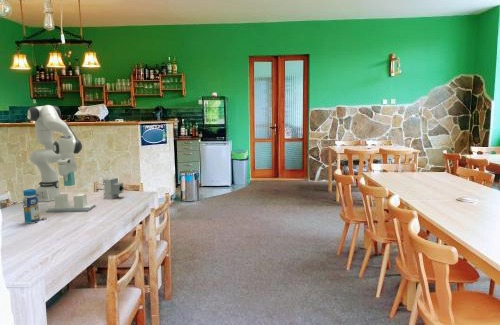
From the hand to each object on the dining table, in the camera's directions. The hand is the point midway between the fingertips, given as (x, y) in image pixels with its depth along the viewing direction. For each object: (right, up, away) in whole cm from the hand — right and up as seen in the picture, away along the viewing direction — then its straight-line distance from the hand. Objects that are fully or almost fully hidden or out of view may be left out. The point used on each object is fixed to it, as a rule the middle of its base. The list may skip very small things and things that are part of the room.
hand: (69, 179), depth 271 cm
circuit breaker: (+19, -16, +37) cm, 44 cm away
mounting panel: (0, -20, +3) cm, 21 cm away
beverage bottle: (-10, -25, -27) cm, 38 cm away
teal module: (0, -4, 0) cm, 4 cm away
